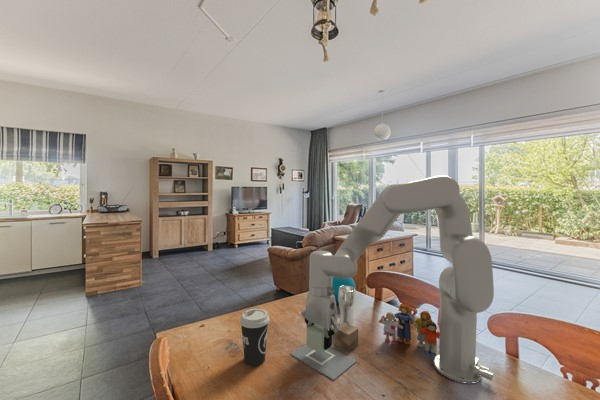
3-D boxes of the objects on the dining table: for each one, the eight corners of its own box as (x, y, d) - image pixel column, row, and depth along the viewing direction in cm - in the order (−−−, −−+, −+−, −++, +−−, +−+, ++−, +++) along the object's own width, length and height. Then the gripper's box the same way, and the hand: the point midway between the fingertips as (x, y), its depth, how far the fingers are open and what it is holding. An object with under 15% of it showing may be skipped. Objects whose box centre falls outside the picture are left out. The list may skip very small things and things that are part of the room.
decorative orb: (342, 294, 144) (342, 266, 143) (361, 305, 131) (362, 274, 130) (318, 300, 136) (318, 270, 136) (336, 312, 123) (337, 279, 123)
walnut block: (358, 344, 98) (358, 328, 97) (348, 351, 93) (348, 334, 93) (344, 338, 102) (344, 322, 101) (334, 344, 97) (334, 328, 97)
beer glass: (356, 329, 108) (357, 291, 108) (339, 329, 108) (339, 291, 108) (353, 320, 115) (354, 285, 114) (337, 320, 115) (337, 285, 115)
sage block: (332, 346, 90) (332, 328, 90) (320, 353, 86) (321, 334, 86) (318, 338, 94) (318, 321, 94) (306, 345, 90) (306, 328, 90)
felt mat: (356, 362, 88) (356, 360, 88) (333, 380, 79) (333, 379, 79) (313, 340, 100) (313, 338, 100) (290, 354, 91) (290, 353, 91)
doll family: (377, 341, 100) (378, 305, 99) (383, 329, 108) (384, 296, 108) (443, 359, 89) (444, 319, 89) (444, 345, 97) (445, 308, 97)
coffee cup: (256, 347, 95) (256, 305, 94) (275, 358, 89) (276, 313, 88) (233, 361, 88) (233, 315, 87) (253, 374, 82) (253, 324, 81)
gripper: (349, 293, 86) (348, 350, 87) (308, 280, 98) (307, 330, 99) (335, 300, 81) (333, 360, 81) (293, 285, 93) (293, 337, 93)
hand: (319, 343), depth 90 cm, fingers closed on sage block, 6 cm apart
